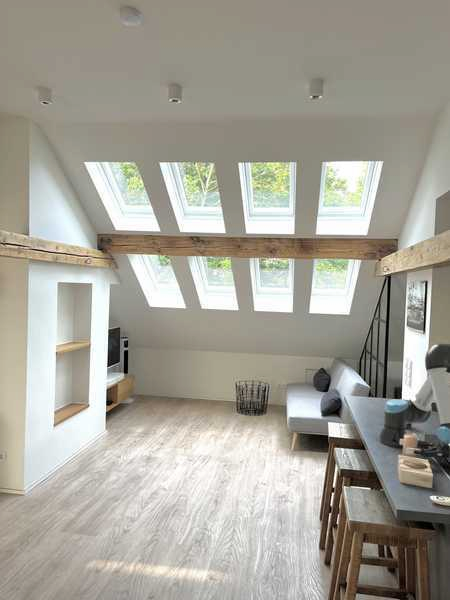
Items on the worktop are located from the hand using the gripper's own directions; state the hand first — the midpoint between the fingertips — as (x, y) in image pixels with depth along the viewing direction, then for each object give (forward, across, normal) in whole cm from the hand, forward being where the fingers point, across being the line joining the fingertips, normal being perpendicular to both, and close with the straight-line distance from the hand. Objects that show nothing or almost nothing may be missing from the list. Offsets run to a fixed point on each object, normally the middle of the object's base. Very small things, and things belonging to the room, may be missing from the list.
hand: (403, 446), depth 232 cm
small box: (-15, +64, -7) cm, 66 cm away
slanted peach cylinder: (-3, 0, -7) cm, 7 cm away
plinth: (0, -22, -7) cm, 23 cm away
